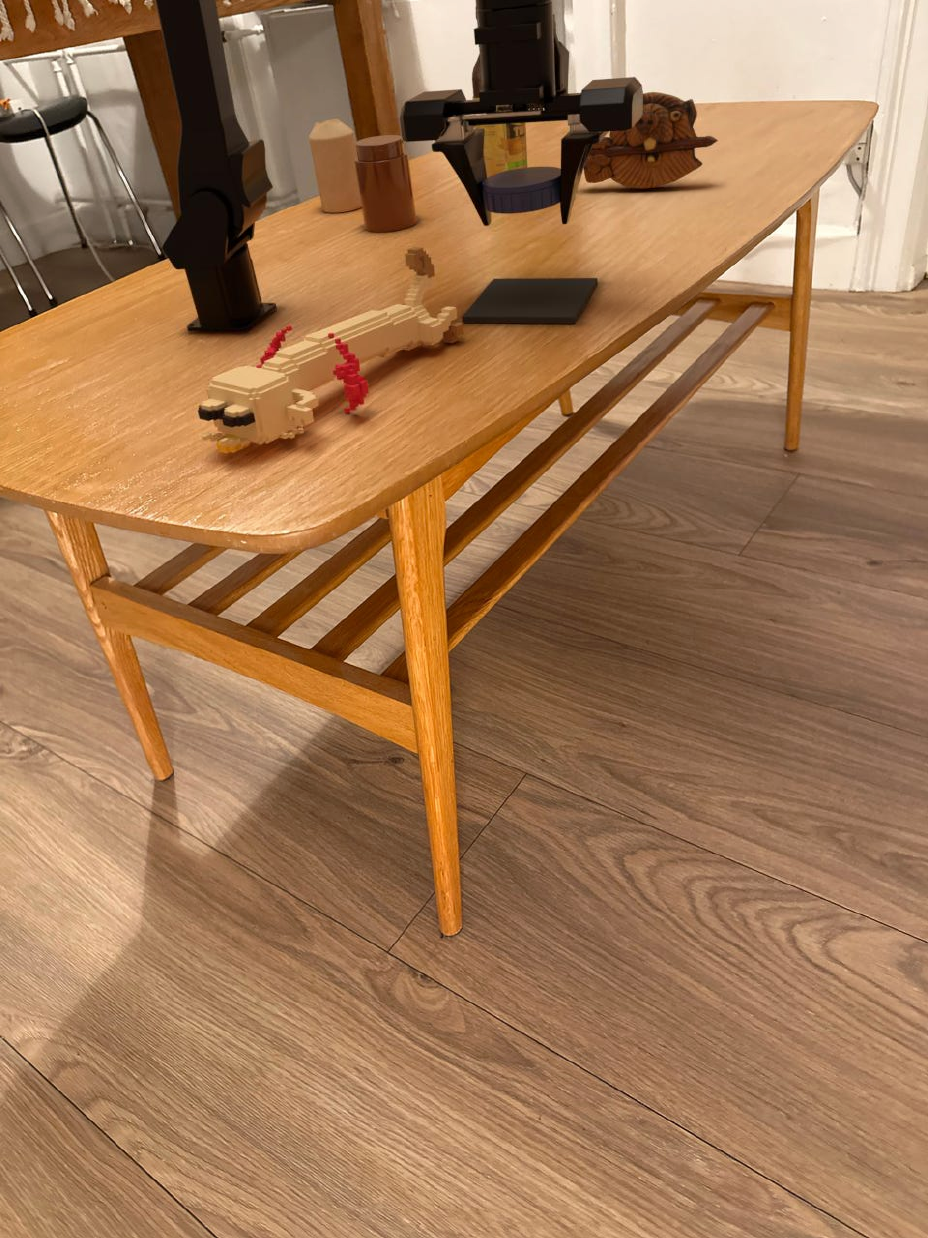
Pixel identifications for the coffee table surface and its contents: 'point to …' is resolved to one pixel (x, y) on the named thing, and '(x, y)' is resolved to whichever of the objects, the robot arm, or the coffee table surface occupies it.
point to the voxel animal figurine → (320, 366)
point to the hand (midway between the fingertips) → (526, 223)
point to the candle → (335, 166)
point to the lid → (522, 190)
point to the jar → (385, 183)
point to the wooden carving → (650, 146)
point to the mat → (532, 301)
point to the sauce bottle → (500, 137)
